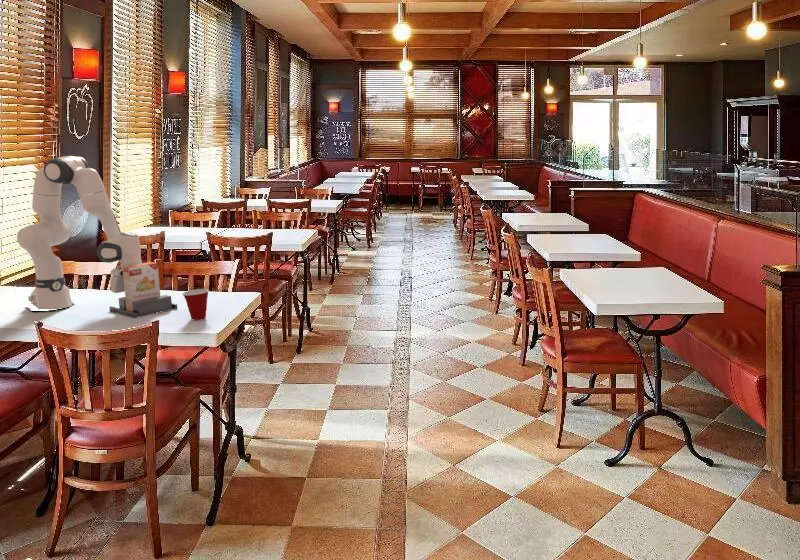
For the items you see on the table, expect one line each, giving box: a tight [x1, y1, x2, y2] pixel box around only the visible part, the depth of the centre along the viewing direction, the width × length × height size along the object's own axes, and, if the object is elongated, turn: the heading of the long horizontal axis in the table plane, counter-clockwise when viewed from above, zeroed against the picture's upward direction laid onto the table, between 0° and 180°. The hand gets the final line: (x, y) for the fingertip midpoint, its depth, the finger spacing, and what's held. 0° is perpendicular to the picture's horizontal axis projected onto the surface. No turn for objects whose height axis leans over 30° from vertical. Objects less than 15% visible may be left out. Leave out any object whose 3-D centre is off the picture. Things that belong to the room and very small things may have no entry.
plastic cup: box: [182, 288, 210, 321], centre depth 301 cm, size 11×11×12 cm
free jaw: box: [117, 296, 127, 310], centre depth 321 cm, size 5×16×6 cm, turn 140°
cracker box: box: [122, 261, 161, 312], centre depth 316 cm, size 14×6×21 cm, turn 141°
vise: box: [108, 294, 178, 319], centre depth 319 cm, size 22×20×6 cm
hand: (134, 299), depth 323 cm, fingers closed, pressing on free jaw
